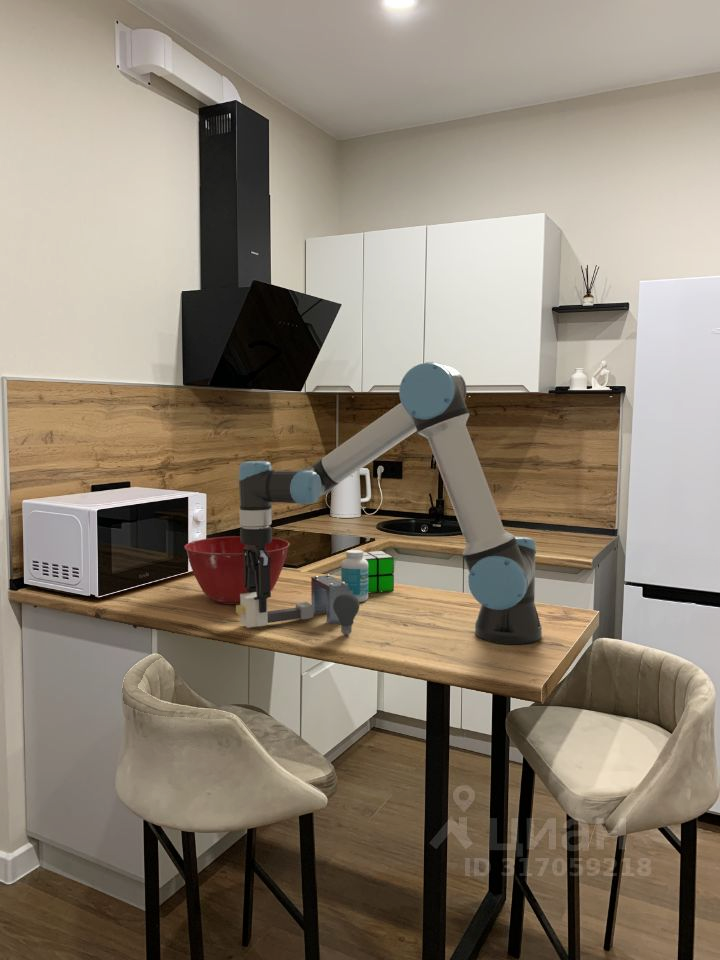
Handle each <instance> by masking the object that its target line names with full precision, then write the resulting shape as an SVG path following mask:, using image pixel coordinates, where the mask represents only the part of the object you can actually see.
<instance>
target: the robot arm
mask: <svg viewBox="0 0 720 960" xmlns="http://www.w3.org/2000/svg"><path fill="white" fill-rule="evenodd" d="M398 393H399V394H398V395H399V401H400V403H398V404H397V405H395V406H394V407H393V408H391V409H390V410H389V411H387V412H386V413H384V414H383V415H382V416H380V417H378V418H377V419H376V420H374V421H373V422H371V423H370V424H369V425H367V426H366V427H364V428H363V429H361V430H360V431H359V432H357V433H356V434H354V435H353V436H352V437H350V438H349V439H347V440H346V441H345V442H343V443H341V444H340V445H338V446H337V447H336V448H335V449H333V450H332V451H331V452H329V453H328V454H326V455H325V456H323V457H322V458H321V459H319V460H317V461H316V462H315V463H313V464H312V465H310V466H309V467H305V468H301V469H295V470H277V469H276V470H274V469H272V466H271V465H272V464H271V463H270V461H265V460H252V461H251V460H249V461H243V462H241V463H240V464H239V470H238V471H239V472H238V479H237V481H238V485H239V486H238V487H239V489H238V490H239V492H238V493H239V510H238V511H239V525H240V526H241V527H240V528H239V534H240V535H239V536H240V541H241V543H242V544H246V545H247V548H243V554H244V587H245V588H247V592H249V593H251V592H256V594H257V597H254V600H255V611H256V627H262V625H263V626H268V624H269V623H268V616H267V611H268V598H271V597H272V594H271V593H272V591H271V582H270V563H271V557H270V556H267V551H266V549H265V545H266V544H267V543H270V542H271V541H272V538H273V528H272V527H271V525H272V524H273V523H272V520H273V518H272V516H273V515H274V511H272V503H284V504H299V505H304V504H305V505H306V504H316V503H317V502H318V501H319V498H320V497H323V496H326V495H328V494H329V493H330V492H332V491H333V489H334V488H335V487H336V486H337V485H339V484H341V482H343V481H344V480H346V479H348V478H349V477H351V476H352V475H354V474H355V473H357V472H358V471H360V470H361V469H363V468H364V467H366V466H367V465H369V464H370V463H371V462H373V461H374V460H376V459H377V458H379V457H380V456H382V455H383V454H385V453H386V452H388V450H391V449H392V448H394V447H395V446H396V445H398V444H399V443H401V442H402V441H404V440H405V439H406V438H408V437H409V436H411V435H412V434H414V433H416V432H417V434H418V435H420V436H422V437H424V438H425V439H427V441H428V444H429V447H430V449H431V452H432V454H433V457H434V459H435V462H436V465H437V468H438V470H439V473H440V476H441V479H442V481H443V484H444V487H445V489H446V493H447V495H448V497H449V501H450V503H451V506H452V509H453V511H454V514H455V517H456V519H457V522H458V525H459V527H460V530H461V533H462V536H463V539H464V541H465V546H464V549H463V551H462V556H463V559H464V562H465V564H466V567H467V570H468V577H467V578H468V587H469V590H470V594H471V595H472V597H473V598H474V599H475V600H476V601H477V602H478V603H479V604H480V608H479V611H478V614H477V615H478V616H477V619H476V620H475V624H474V631H475V632H474V633H475V635H476V636H477V637H479V639H482V640H485V641H487V642H491V643H497V644H503V645H521V644H522V645H523V644H532V643H534V642H537V641H540V639H542V635H543V634H542V631H543V630H542V624H541V620H540V618H539V615H538V611H537V610H538V609H537V607H536V603H535V594H536V593H535V592H536V591H535V588H536V587H535V586H536V585H535V584H536V581H535V580H536V554H537V549H536V541H535V540H534V539H533V538H531V537H525V536H515V535H514V534H512V533H511V532H509V531H507V530H506V529H505V528H504V525H503V522H502V519H501V516H500V514H499V512H498V508H497V506H496V503H495V501H494V497H493V495H492V493H491V490H490V487H489V485H488V481H487V479H486V476H485V473H484V471H483V468H482V466H481V463H480V460H479V457H478V455H477V451H476V449H475V447H474V444H473V441H472V438H471V436H470V433H469V431H468V428H467V422H468V419H469V418H470V412H469V409H468V406H467V404H466V401H465V400H466V398H467V397H466V396H467V386H466V381H465V379H464V377H463V376H462V374H461V373H460V372H459V371H458V370H456V369H455V368H454V367H451V366H450V365H449V366H448V365H443V364H441V363H439V362H434V361H431V362H430V361H428V362H427V361H426V362H424V363H419V364H417V365H414V366H413V367H411V368H410V369H409V370H408V371H407V372H406V373H405V374H404V376H403V377H402V380H401V382H400V384H399V392H398Z"/></svg>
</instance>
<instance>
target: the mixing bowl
mask: <svg viewBox="0 0 720 960" xmlns="http://www.w3.org/2000/svg"><path fill="white" fill-rule="evenodd" d="M290 544H291V543H290V542H289V541H288V540H285V539H282V538H277V537H272V541H271V542H270V543H267V544H266V545H265V549H266V551H267V556H270V557H271V563H270V582H271V592H273V591H272V590H274V588H275V585H277V584H276V583H277V582H278V580H279V578H280V575H281V573H282V570H283V567H284V564H285V560H286V557H287V553H288V549H289V547H290ZM183 547H184V549H185V551H186V555H187V557H188V558H187V559H188V562H189V565H190V567H191V570H192V573H193V575H194V577H195V580H196V581H197V584H198V585H199V587H200V589H201V591H202V592H203V593H204V594H205V595H206V596H207V597H208V598H209V599H212V600H213V601H214V602H216V603H218V604H224V605H240V594H243V593H249V592H247V588H245V587H244V554H243V548H247V545H246V544H242V543H241V541H240V535H239V536H238V535H236V536H235V535H234V536H233V535H231V536H220V537H219V536H218V537H211V538H204V539H203V538H202V539H199V540H198V539H197V540H193V541H190V542H189V543H186V544H185V545H184V546H183Z"/></svg>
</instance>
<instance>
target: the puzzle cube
mask: <svg viewBox="0 0 720 960" xmlns="http://www.w3.org/2000/svg"><path fill="white" fill-rule="evenodd" d="M362 558H363V559H365V560H367V562H368V594H370V593H369V592H376V593H382V592H381V591H387V592H393V591H394V590H395V589H394V588H395V581H394V580H395V577H394V576H395V575H394V572H395V567H394V565H395V563H394V562H395V561H394V560H395V558H394V557H393V556H391V555H390V554H388V553H386V552H384V551H383V550H378V551H377V550H376V551H363V557H362ZM377 591H378V592H377Z"/></svg>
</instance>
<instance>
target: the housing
mask: <svg viewBox="0 0 720 960" xmlns="http://www.w3.org/2000/svg"><path fill="white" fill-rule="evenodd" d="M310 580H311V582H310V583H311V584H310V585H311V592H310V594H311V597H310V598H311V599H310V600H311V601H310V602H311V605H312V606H313V615H321V614H326V623H328V624H329V625H333V624H340V623H339V619H338V616H337V615H336V613H335V612H334V609H333V603H334V600H335V598H336V597H337V596H338V595H340V594H342V593H348V584H346V583H345V582H342V581H341V580H340V579H337V578H336V577H334V576H332V575H331V574H329V573H327V574H325V575H314V576H311V579H310Z"/></svg>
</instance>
